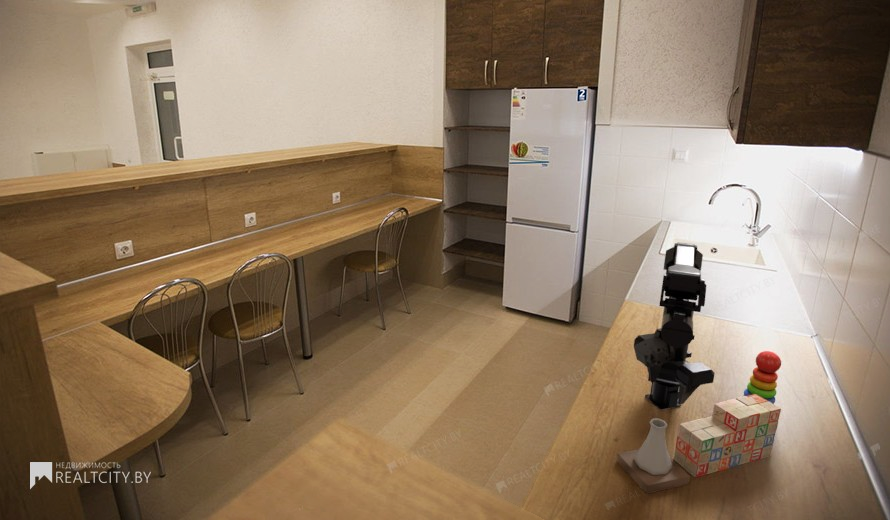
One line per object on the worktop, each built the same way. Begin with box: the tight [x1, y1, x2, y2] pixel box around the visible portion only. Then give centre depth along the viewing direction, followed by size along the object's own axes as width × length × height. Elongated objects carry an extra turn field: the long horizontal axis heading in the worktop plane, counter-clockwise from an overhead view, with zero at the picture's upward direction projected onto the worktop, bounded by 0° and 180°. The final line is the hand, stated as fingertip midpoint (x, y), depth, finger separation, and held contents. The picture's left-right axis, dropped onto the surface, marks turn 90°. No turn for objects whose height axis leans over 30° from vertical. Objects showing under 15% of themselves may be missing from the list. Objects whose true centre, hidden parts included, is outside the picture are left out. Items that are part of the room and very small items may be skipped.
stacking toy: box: [742, 350, 782, 405], centre depth 121 cm, size 8×8×19 cm
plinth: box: [616, 448, 691, 494], centre depth 106 cm, size 10×10×2 cm
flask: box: [633, 417, 673, 475], centre depth 104 cm, size 7×7×10 cm
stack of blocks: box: [673, 394, 782, 478], centre depth 109 cm, size 21×6×12 cm, turn 110°
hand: (666, 392), depth 112 cm, fingers open, 9 cm apart
